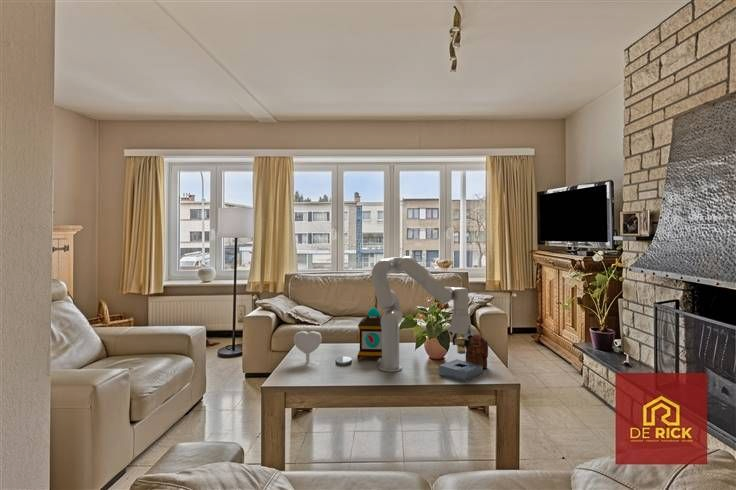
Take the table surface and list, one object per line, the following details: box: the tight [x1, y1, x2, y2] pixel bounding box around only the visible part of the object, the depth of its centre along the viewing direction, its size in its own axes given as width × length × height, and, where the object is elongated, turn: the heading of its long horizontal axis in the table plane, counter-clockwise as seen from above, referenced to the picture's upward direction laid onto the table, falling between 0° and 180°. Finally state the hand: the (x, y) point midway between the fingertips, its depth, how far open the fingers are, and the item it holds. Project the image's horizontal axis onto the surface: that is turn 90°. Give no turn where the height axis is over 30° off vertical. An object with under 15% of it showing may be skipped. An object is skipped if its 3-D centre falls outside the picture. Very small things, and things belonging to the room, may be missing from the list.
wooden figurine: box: [465, 334, 489, 369], centre depth 231 cm, size 12×6×18 cm, turn 79°
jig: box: [438, 358, 484, 383], centre depth 219 cm, size 16×16×5 cm
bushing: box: [454, 336, 466, 355], centre depth 218 cm, size 7×7×8 cm
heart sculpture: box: [293, 330, 323, 366], centre depth 240 cm, size 16×5×18 cm, turn 87°
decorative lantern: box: [356, 307, 382, 362], centre depth 252 cm, size 20×20×30 cm
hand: (461, 345), depth 218 cm, fingers closed on bushing, 6 cm apart
